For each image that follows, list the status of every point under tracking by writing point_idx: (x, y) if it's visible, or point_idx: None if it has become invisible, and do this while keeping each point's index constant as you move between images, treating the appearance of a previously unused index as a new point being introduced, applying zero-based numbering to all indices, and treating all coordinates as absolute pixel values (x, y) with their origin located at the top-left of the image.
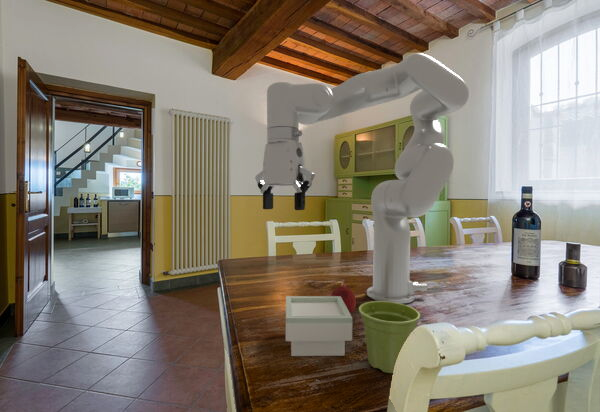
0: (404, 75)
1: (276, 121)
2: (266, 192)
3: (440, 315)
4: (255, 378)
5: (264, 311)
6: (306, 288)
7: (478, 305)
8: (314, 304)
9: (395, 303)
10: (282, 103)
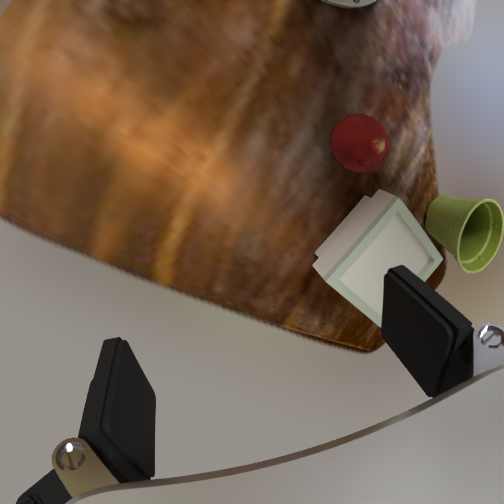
0: None
1: None
2: (137, 478)
3: (434, 19)
4: (354, 338)
5: (205, 236)
6: (139, 47)
7: None
8: (373, 250)
9: (483, 202)
10: None
